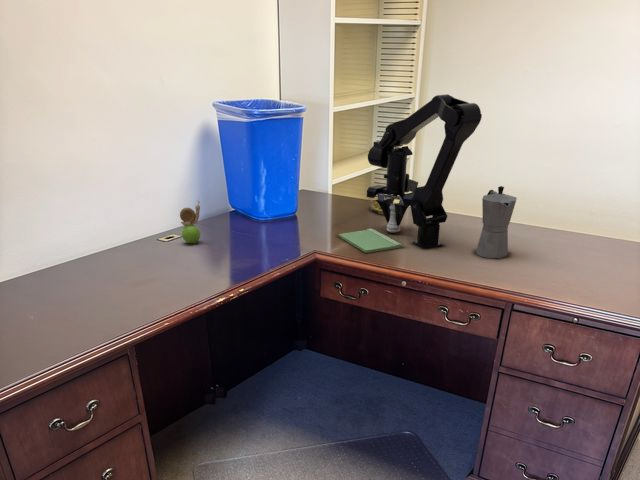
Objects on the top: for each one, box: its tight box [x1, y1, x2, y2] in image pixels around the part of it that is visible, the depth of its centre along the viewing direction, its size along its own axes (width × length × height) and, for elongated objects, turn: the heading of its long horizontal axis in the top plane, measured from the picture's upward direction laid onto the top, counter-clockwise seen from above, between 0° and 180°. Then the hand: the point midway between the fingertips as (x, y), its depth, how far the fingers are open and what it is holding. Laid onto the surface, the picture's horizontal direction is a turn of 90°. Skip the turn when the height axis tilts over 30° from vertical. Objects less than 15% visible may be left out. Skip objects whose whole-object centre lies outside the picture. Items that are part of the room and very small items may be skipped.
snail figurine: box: [179, 200, 201, 244], centre depth 177 cm, size 5×6×12 cm
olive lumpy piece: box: [370, 201, 394, 216], centre depth 208 cm, size 9×5×15 cm
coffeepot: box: [475, 185, 518, 259], centre depth 164 cm, size 15×9×18 cm, turn 4°
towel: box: [338, 227, 403, 254], centre depth 179 cm, size 18×12×1 cm, turn 24°
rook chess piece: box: [385, 202, 401, 234], centre depth 184 cm, size 4×4×8 cm
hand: (393, 224), depth 185 cm, fingers closed on rook chess piece, 3 cm apart
